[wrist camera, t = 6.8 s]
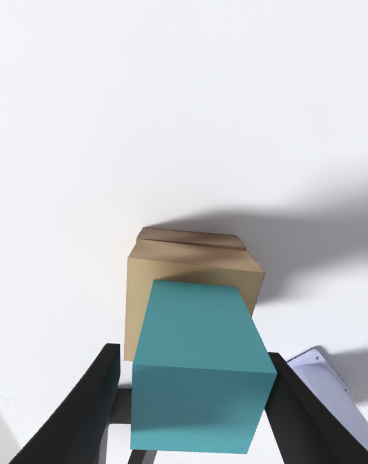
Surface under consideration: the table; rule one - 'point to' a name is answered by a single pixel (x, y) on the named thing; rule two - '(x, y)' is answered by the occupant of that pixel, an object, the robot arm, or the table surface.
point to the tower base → (192, 238)
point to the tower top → (183, 277)
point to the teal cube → (198, 371)
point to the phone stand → (121, 414)
